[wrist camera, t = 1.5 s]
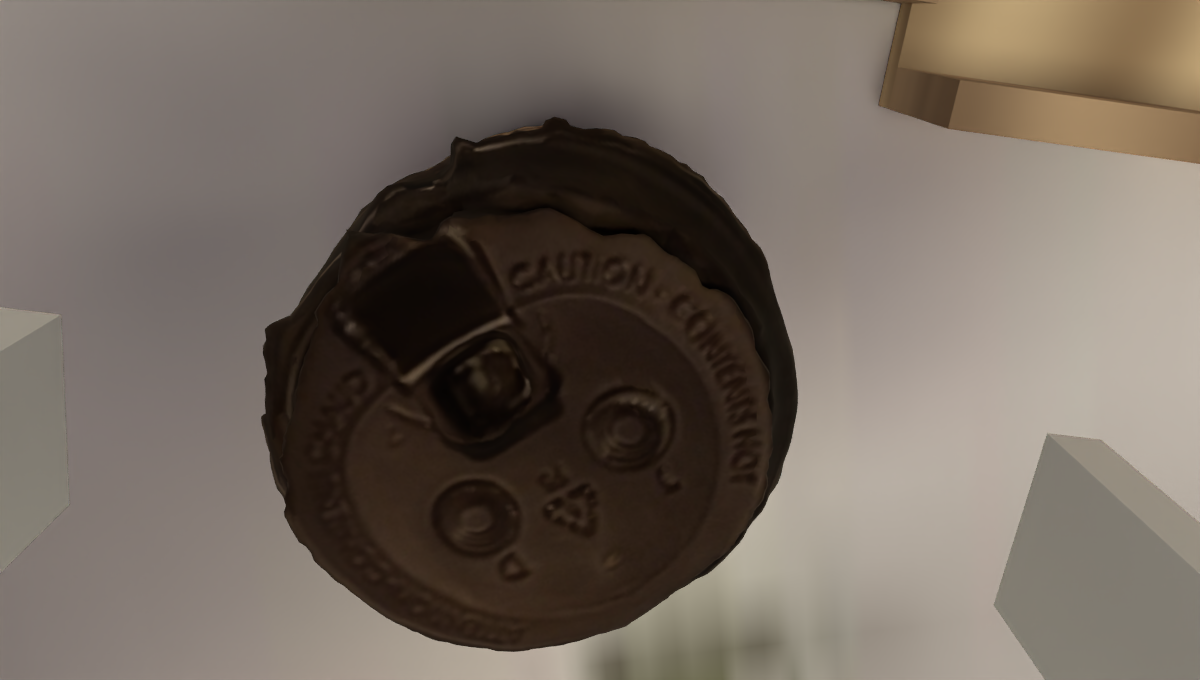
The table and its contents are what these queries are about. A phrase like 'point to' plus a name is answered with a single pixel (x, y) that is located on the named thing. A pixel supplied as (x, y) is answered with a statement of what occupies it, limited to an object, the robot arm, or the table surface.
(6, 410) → the robot arm
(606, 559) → the coffee cup
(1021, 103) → the wooden stepped block
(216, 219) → the table surface
